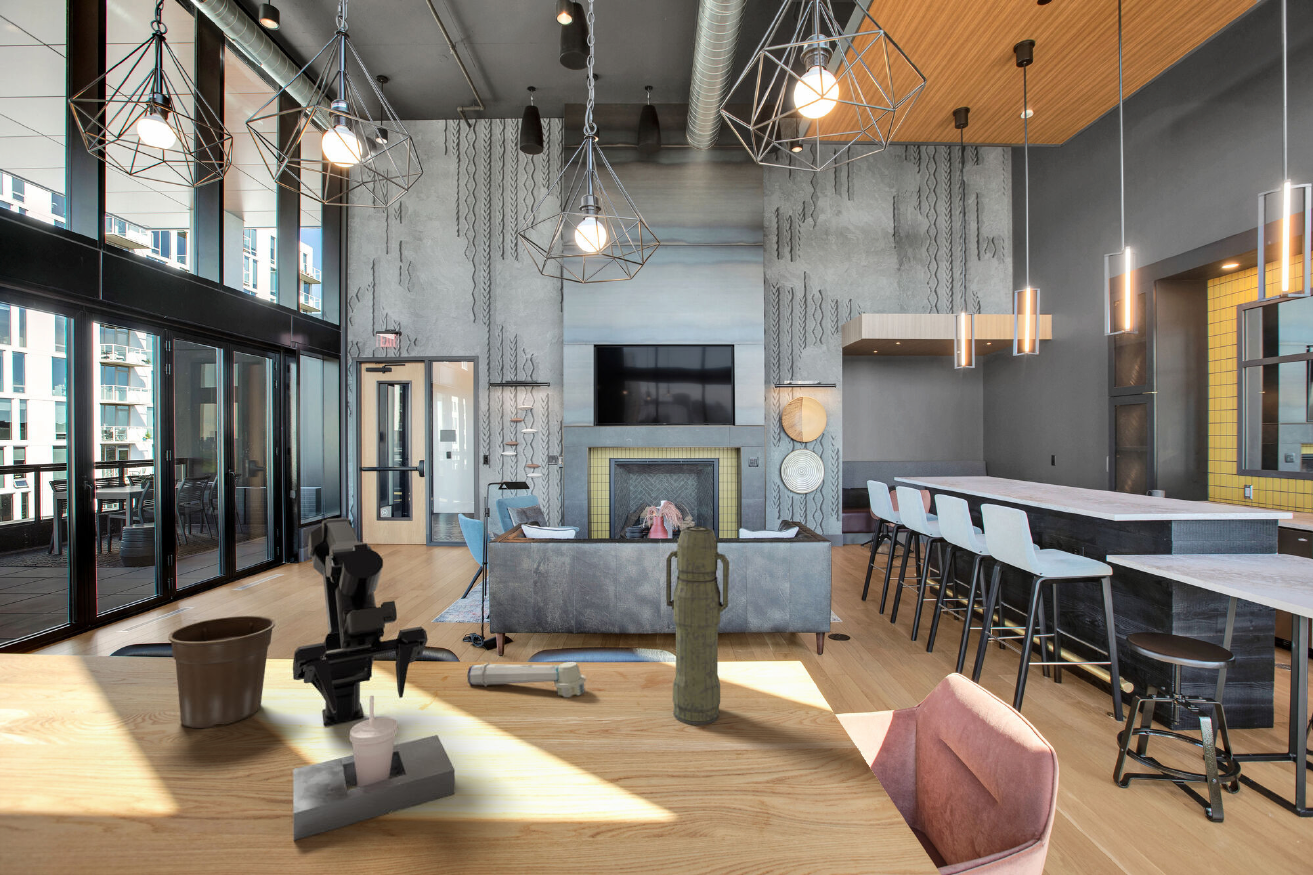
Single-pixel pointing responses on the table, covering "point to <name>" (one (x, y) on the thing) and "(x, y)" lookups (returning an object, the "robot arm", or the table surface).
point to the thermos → (697, 624)
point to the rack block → (369, 787)
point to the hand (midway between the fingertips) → (369, 703)
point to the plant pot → (221, 668)
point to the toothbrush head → (530, 676)
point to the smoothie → (373, 747)
